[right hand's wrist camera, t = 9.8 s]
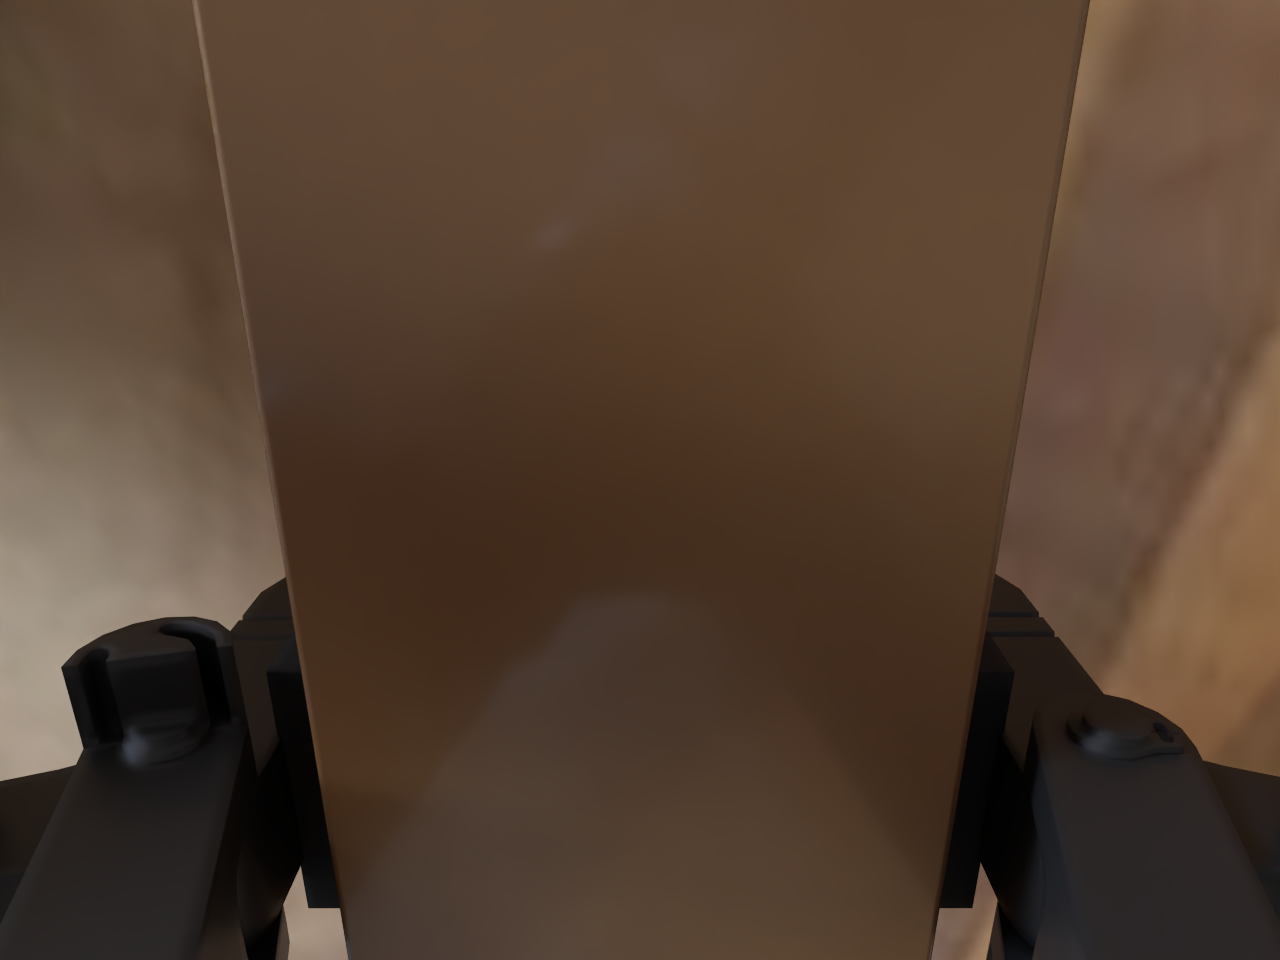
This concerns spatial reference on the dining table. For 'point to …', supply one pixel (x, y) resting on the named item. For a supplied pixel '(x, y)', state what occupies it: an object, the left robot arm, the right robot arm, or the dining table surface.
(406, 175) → the post
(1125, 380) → the dining table surface
